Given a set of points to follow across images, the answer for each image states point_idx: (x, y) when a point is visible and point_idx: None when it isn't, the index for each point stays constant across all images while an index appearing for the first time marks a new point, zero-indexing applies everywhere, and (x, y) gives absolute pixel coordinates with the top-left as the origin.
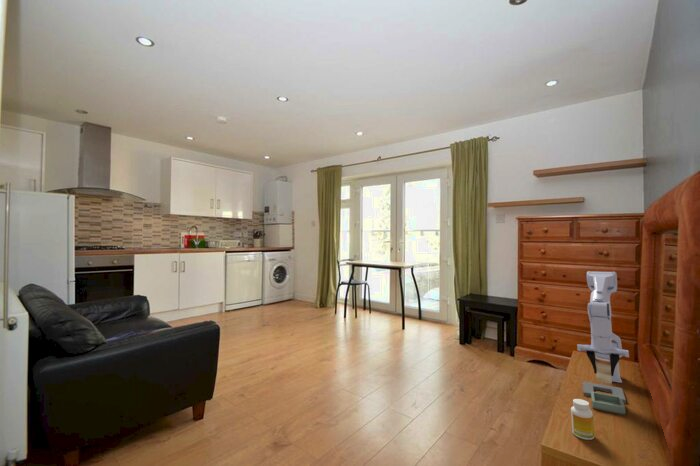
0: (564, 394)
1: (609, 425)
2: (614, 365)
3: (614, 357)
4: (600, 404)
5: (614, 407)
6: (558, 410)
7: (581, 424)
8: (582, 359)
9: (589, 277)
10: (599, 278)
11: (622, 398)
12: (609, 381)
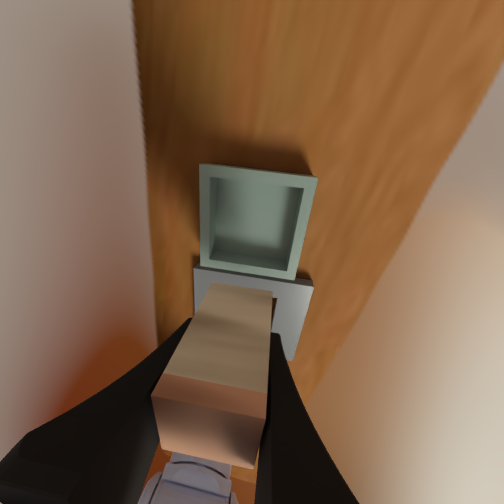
0: (380, 268)
1: (288, 6)
2: (131, 377)
3: (25, 489)
4: (286, 173)
5: (237, 167)
6: (492, 76)
7: None
8: (257, 462)
9: None
10: None
11: (201, 275)
12: (218, 289)
